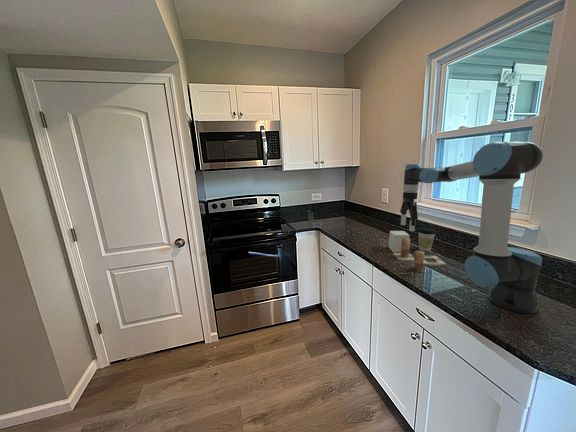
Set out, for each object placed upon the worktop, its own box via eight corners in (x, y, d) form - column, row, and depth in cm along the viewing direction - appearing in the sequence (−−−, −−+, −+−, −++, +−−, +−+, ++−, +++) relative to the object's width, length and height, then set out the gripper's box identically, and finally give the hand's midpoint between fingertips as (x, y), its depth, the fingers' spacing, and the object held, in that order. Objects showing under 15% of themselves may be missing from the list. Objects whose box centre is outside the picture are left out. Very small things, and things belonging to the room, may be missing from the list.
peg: (423, 273, 130) (426, 253, 127) (415, 272, 130) (417, 253, 128) (420, 269, 134) (422, 250, 132) (411, 269, 134) (413, 250, 132)
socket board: (446, 268, 134) (446, 264, 134) (423, 268, 135) (423, 263, 135) (435, 259, 146) (435, 255, 145) (414, 259, 147) (414, 255, 146)
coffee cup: (435, 254, 153) (438, 231, 150) (418, 253, 155) (421, 231, 151) (430, 249, 162) (432, 227, 159) (414, 248, 164) (416, 226, 161)
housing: (407, 254, 154) (409, 235, 151) (392, 254, 155) (394, 235, 152) (402, 249, 163) (404, 230, 160) (388, 249, 164) (389, 230, 161)
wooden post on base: (416, 262, 142) (419, 242, 139) (398, 262, 143) (400, 242, 140) (409, 255, 153) (411, 236, 150) (392, 255, 154) (394, 236, 151)
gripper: (427, 194, 128) (423, 233, 132) (408, 189, 152) (406, 222, 157) (412, 194, 129) (408, 233, 133) (396, 189, 153) (393, 222, 157)
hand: (407, 227), depth 145 cm, fingers open, 13 cm apart
